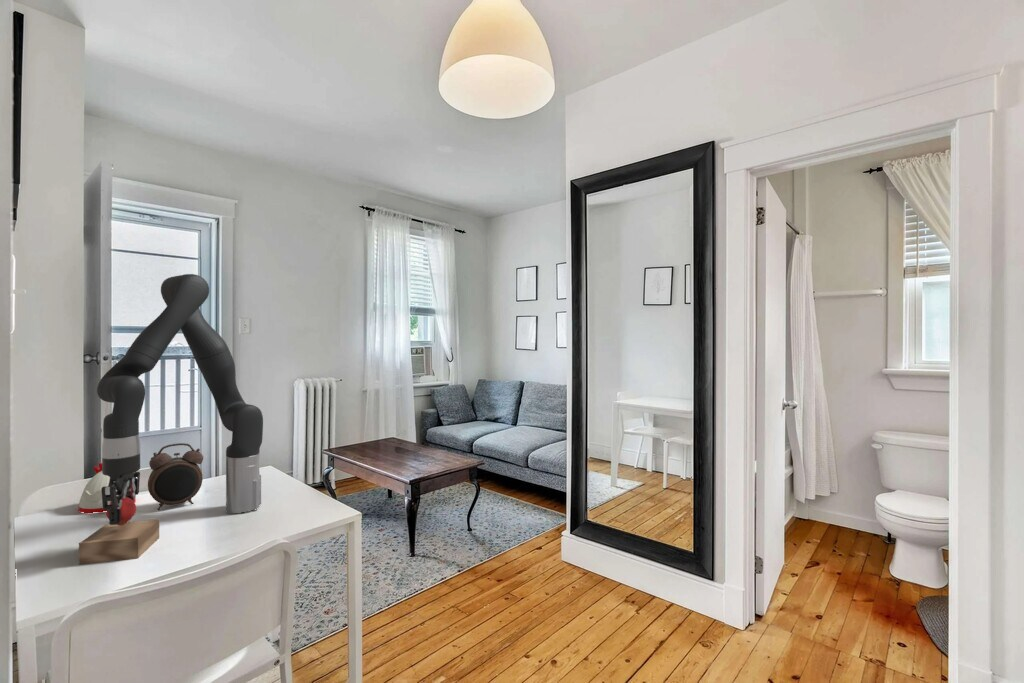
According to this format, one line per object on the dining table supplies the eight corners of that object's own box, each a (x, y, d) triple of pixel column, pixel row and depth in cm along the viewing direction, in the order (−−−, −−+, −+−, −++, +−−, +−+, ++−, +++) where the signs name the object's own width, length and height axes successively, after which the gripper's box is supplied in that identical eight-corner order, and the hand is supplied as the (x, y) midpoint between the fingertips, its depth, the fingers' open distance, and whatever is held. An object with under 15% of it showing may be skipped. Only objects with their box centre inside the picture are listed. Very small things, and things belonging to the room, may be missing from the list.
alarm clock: (148, 514, 145) (148, 449, 144) (147, 507, 150) (147, 445, 150) (204, 504, 154) (204, 442, 154) (202, 498, 159) (202, 439, 159)
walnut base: (159, 537, 128) (159, 519, 128) (138, 558, 117) (138, 537, 117) (106, 543, 125) (106, 524, 125) (79, 564, 114) (79, 543, 114)
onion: (118, 521, 124) (118, 490, 124) (141, 520, 124) (141, 490, 124) (100, 530, 118) (100, 498, 118) (125, 529, 118) (125, 497, 118)
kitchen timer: (114, 513, 146) (114, 465, 145) (66, 514, 144) (66, 465, 144) (145, 498, 159) (145, 453, 159) (102, 498, 158) (102, 454, 158)
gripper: (124, 459, 115) (125, 528, 115) (151, 446, 129) (151, 507, 129) (87, 462, 113) (87, 532, 113) (118, 447, 127) (119, 510, 127)
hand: (121, 518), depth 121 cm, fingers closed on onion, 6 cm apart
